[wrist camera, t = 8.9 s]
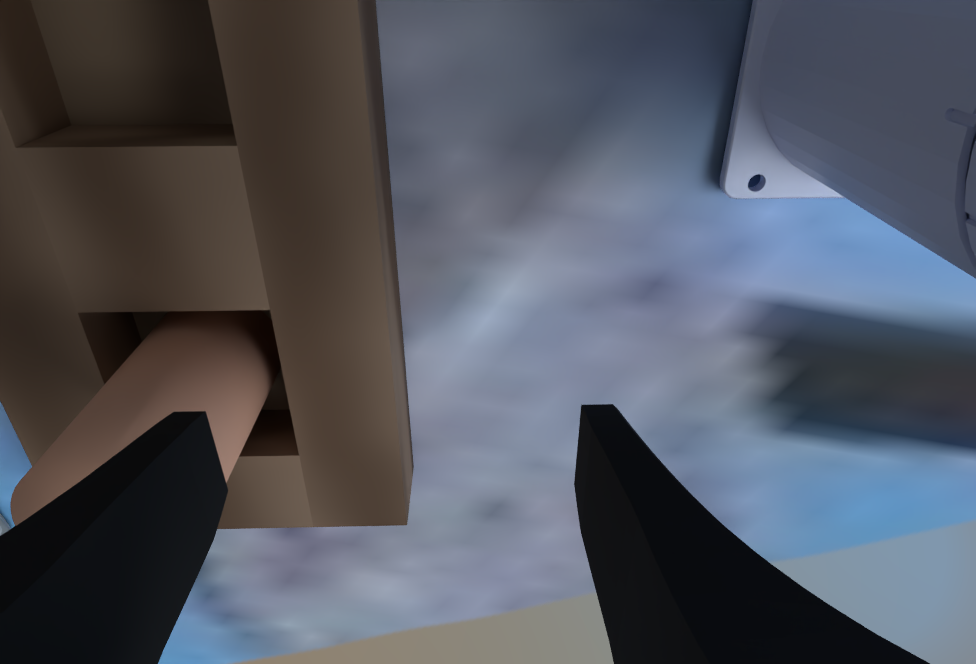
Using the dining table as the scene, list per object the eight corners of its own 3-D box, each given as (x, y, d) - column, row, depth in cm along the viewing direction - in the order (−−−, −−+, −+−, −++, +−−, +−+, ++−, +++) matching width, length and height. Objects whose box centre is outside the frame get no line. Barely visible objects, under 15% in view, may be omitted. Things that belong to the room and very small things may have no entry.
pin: (274, 292, 20) (173, 458, 13) (292, 393, 22) (211, 583, 15) (149, 291, 20) (-18, 459, 13) (177, 393, 22) (46, 585, 15)
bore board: (352, -290, 14) (324, -349, 11) (413, 466, 25) (407, 525, 22) (-206, -293, 14) (-366, -355, 11) (106, 472, 25) (64, 532, 22)
